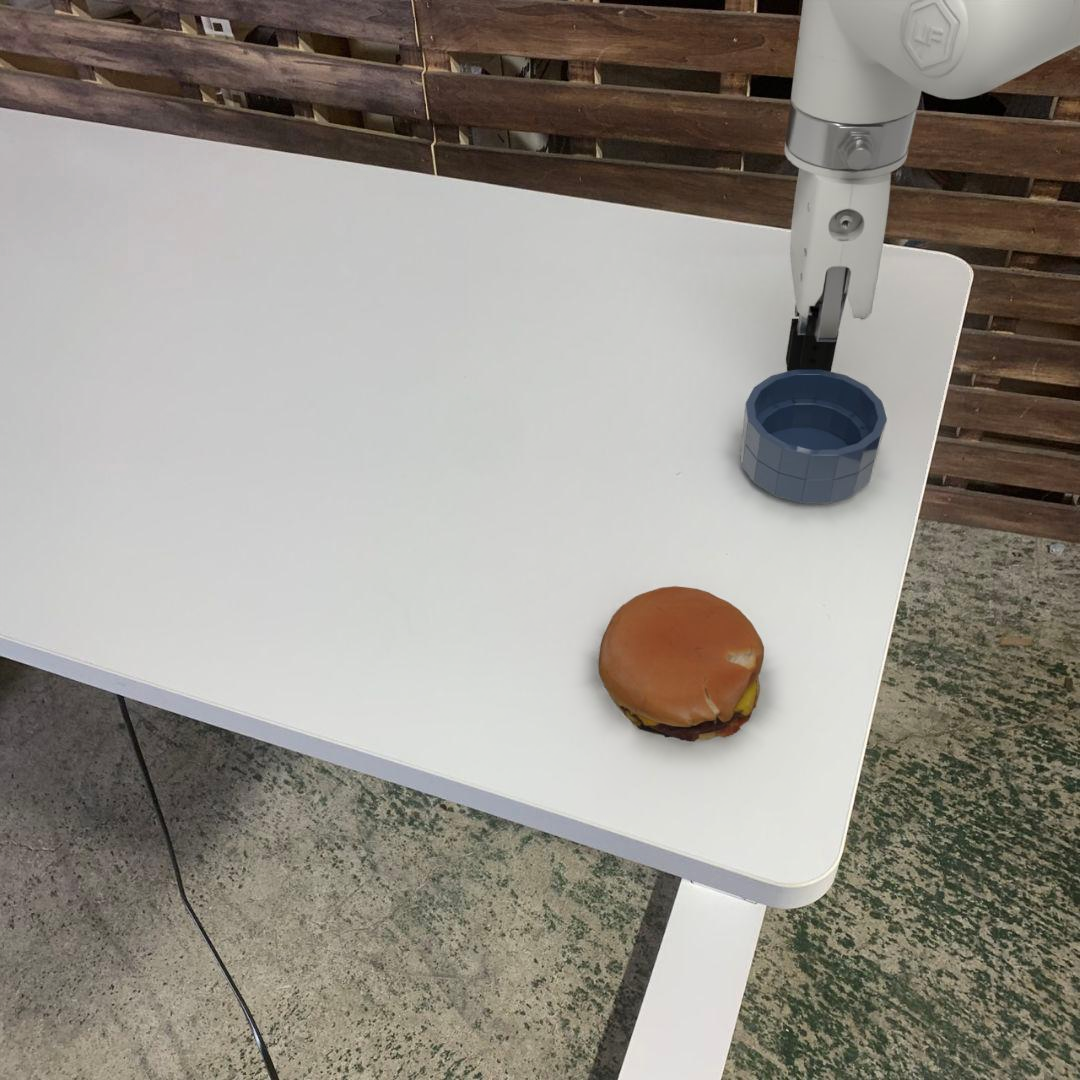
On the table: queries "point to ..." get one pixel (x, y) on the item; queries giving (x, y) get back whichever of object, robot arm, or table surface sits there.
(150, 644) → the table surface
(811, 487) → the bowl
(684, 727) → the burger
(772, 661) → the table surface
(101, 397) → the table surface
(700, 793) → the table surface
